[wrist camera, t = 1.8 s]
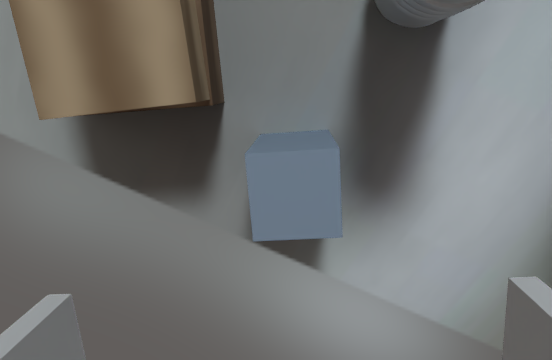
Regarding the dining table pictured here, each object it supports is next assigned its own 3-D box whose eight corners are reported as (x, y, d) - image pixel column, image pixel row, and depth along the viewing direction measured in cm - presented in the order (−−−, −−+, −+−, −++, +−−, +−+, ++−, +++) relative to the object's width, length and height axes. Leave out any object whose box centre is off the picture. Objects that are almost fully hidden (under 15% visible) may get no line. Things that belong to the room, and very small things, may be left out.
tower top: (185, -62, 27) (166, -87, 23) (210, 99, 29) (196, 102, 25) (36, -39, 28) (-7, -59, 24) (73, 115, 30) (39, 119, 26)
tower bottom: (208, -48, 31) (192, -72, 26) (225, 102, 34) (212, 105, 29) (68, -33, 32) (27, -53, 27) (95, 112, 35) (63, 116, 30)
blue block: (328, 129, 34) (339, 148, 24) (330, 195, 35) (342, 237, 26) (260, 134, 34) (244, 154, 25) (265, 198, 36) (253, 241, 26)
